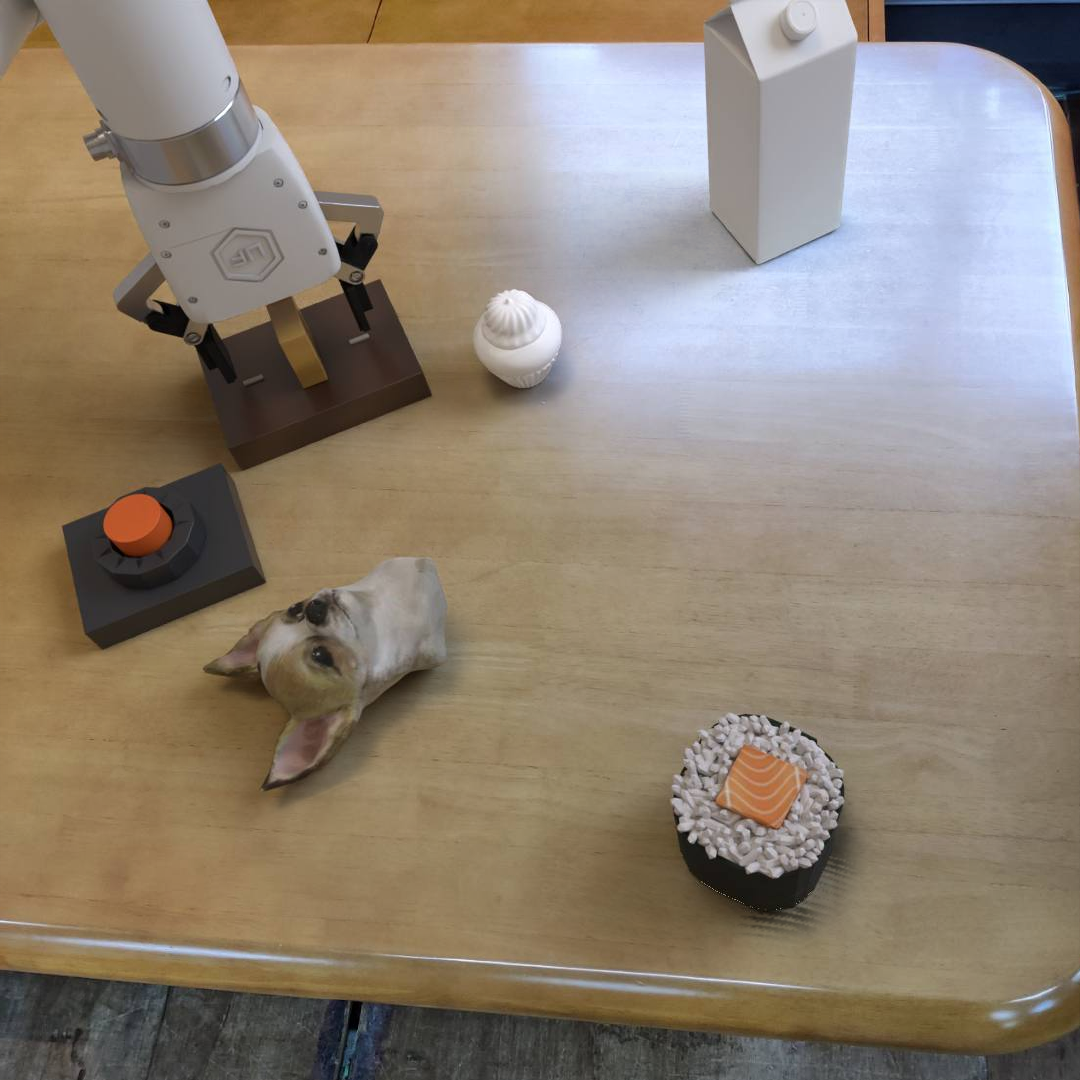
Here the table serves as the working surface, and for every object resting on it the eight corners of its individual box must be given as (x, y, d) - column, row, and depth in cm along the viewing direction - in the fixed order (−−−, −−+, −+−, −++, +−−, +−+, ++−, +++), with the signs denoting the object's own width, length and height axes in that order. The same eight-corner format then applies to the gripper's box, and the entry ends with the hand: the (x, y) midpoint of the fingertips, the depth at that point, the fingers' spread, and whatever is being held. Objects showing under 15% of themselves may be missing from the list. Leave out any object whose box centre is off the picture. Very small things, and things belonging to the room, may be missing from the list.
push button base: (102, 650, 70) (68, 620, 66) (78, 543, 74) (46, 510, 71) (266, 582, 71) (242, 549, 68) (234, 481, 75) (209, 445, 72)
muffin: (524, 419, 76) (505, 349, 69) (465, 376, 78) (441, 304, 72) (587, 365, 77) (574, 292, 71) (527, 324, 80) (509, 250, 74)
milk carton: (709, 210, 83) (700, -41, 67) (789, 174, 84) (800, -83, 68) (757, 267, 80) (760, 18, 64) (840, 229, 81) (865, -27, 65)
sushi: (718, 743, 63) (714, 683, 56) (855, 803, 61) (870, 749, 54) (654, 868, 60) (642, 821, 53) (797, 937, 57) (804, 898, 50)
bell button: (122, 566, 68) (108, 551, 67) (112, 522, 70) (98, 507, 69) (178, 543, 69) (165, 528, 67) (166, 501, 71) (153, 485, 69)
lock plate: (242, 471, 76) (226, 447, 73) (210, 372, 80) (194, 347, 78) (432, 396, 77) (422, 370, 75) (389, 303, 82) (379, 276, 80)
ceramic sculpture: (466, 611, 58) (216, 766, 56) (506, 677, 66) (287, 816, 64) (381, 479, 63) (148, 617, 61) (427, 555, 71) (222, 680, 69)
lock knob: (328, 379, 76) (304, 331, 71) (303, 389, 75) (277, 340, 71) (309, 331, 78) (285, 281, 74) (285, 340, 78) (259, 290, 74)
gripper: (41, 222, 57) (185, 428, 72) (354, 111, 59) (430, 334, 75) (20, 138, 61) (162, 351, 76) (316, 36, 63) (397, 263, 78)
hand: (295, 343), depth 75 cm, fingers open, 9 cm apart
